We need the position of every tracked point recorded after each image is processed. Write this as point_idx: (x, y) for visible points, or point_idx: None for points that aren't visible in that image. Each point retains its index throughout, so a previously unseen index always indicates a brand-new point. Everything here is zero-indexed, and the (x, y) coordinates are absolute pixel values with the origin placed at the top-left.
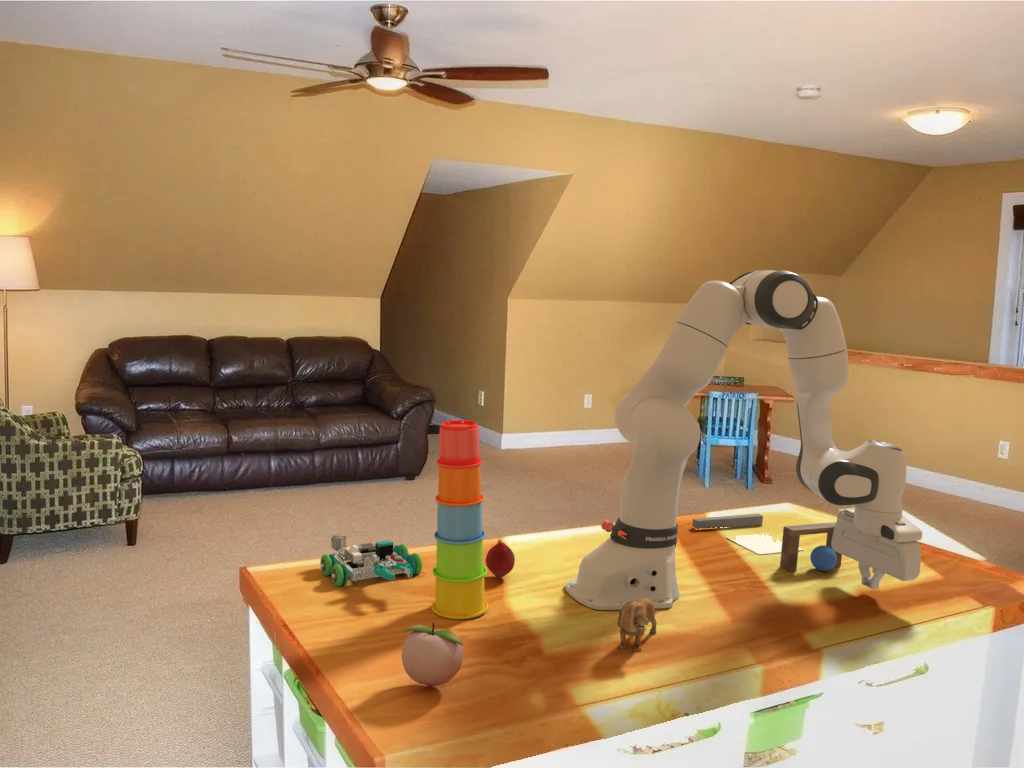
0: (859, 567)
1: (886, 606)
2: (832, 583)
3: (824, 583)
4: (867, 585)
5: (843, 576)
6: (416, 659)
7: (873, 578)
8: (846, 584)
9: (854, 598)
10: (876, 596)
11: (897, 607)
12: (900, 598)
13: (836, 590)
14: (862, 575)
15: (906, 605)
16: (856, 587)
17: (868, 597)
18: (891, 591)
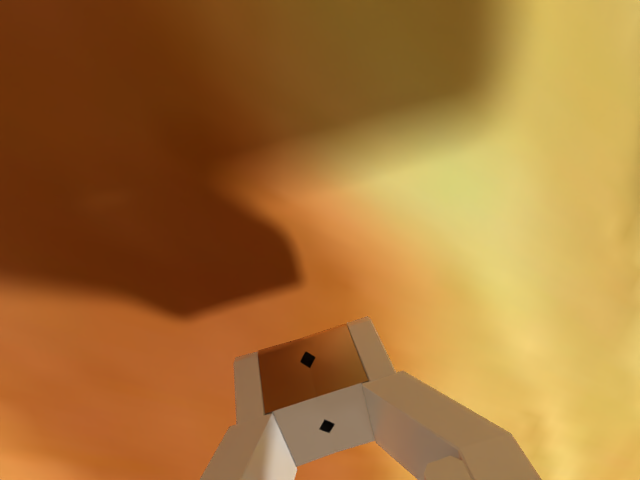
0: (484, 435)
1: (20, 338)
2: (569, 122)
3: (599, 34)
4: (293, 345)
5: (633, 277)
6: None
7: (224, 459)
8: (512, 232)
9: (193, 141)
10: (255, 343)
11: (21, 402)
12: None
13: (416, 60)
14: (394, 382)
15: (89, 458)
16: (442, 278)
17: (230, 280)
18: None
